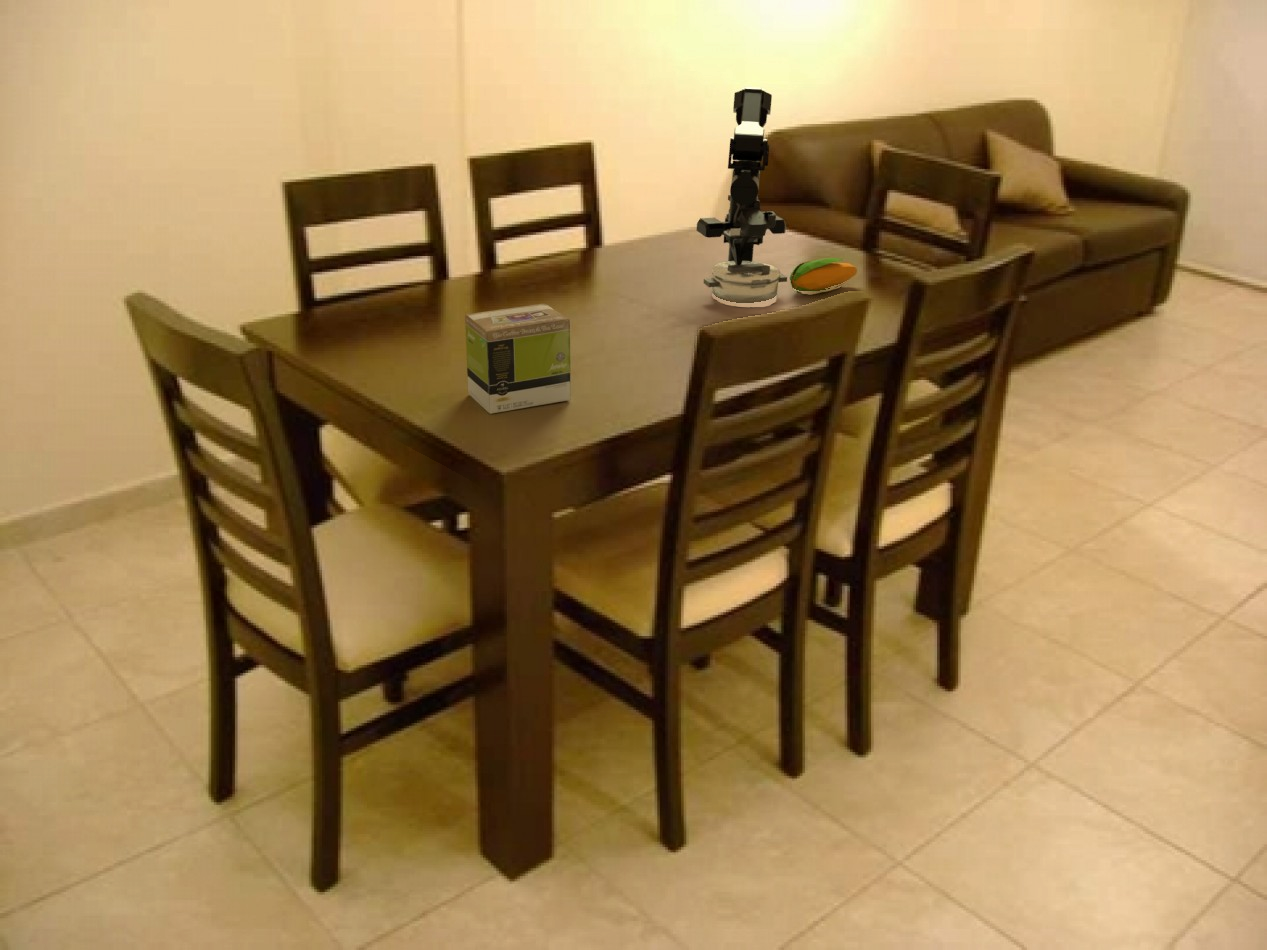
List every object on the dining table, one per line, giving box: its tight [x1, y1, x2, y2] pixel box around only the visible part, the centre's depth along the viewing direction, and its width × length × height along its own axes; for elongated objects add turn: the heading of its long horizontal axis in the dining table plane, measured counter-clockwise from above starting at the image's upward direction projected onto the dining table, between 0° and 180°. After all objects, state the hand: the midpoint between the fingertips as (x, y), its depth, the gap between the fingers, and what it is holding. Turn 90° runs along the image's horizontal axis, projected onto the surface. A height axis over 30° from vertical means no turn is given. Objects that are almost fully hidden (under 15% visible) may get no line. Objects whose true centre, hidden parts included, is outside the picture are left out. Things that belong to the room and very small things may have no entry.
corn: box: [789, 257, 858, 291], centre depth 265 cm, size 7×8×20 cm
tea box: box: [464, 303, 572, 414], centre depth 200 cm, size 15×10×15 cm, turn 118°
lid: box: [711, 260, 782, 285], centre depth 256 cm, size 15×15×3 cm
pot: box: [703, 273, 788, 303], centre depth 258 cm, size 14×18×5 cm
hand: (738, 264), depth 261 cm, fingers closed, pressing on lid
